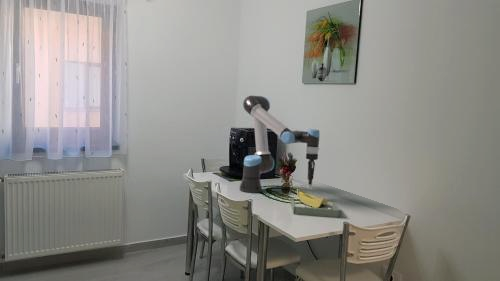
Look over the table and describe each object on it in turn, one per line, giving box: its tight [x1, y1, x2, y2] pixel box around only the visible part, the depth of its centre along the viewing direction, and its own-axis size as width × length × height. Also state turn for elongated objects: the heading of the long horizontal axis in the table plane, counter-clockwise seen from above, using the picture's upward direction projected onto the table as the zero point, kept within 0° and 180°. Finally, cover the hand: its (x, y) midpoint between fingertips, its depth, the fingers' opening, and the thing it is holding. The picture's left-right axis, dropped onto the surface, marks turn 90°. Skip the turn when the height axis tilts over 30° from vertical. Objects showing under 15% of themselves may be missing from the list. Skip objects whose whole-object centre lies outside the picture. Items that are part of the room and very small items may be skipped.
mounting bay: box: [290, 198, 342, 218], centre depth 215 cm, size 17×26×5 cm, turn 89°
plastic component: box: [296, 188, 329, 208], centre depth 232 cm, size 20×7×10 cm
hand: (309, 188), depth 243 cm, fingers closed
